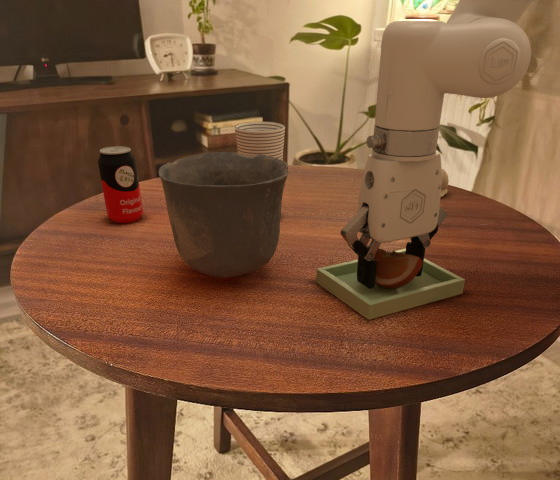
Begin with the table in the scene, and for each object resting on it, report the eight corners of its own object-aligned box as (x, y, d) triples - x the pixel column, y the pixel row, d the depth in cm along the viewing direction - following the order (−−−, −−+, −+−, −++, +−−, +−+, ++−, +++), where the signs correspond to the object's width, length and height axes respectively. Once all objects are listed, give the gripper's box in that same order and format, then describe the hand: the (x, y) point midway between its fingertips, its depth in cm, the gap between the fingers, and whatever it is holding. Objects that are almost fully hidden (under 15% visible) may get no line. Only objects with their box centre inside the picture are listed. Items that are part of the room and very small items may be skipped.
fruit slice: (349, 284, 77) (352, 250, 75) (373, 268, 82) (376, 235, 79) (404, 300, 73) (409, 264, 70) (427, 283, 78) (432, 248, 75)
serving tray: (403, 261, 85) (405, 248, 84) (462, 293, 76) (465, 279, 75) (316, 282, 79) (316, 268, 78) (368, 320, 70) (369, 304, 69)
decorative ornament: (452, 196, 113) (457, 168, 110) (416, 200, 111) (420, 172, 108) (441, 190, 116) (445, 163, 113) (406, 194, 114) (409, 167, 111)
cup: (292, 214, 104) (293, 123, 95) (271, 228, 98) (270, 133, 89) (252, 207, 107) (250, 119, 99) (229, 220, 101) (224, 128, 92)
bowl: (316, 273, 82) (320, 167, 74) (223, 313, 72) (215, 195, 63) (237, 241, 92) (232, 145, 84) (145, 272, 82) (130, 166, 74)
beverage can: (103, 224, 100) (89, 153, 93) (115, 212, 105) (104, 145, 98) (137, 225, 99) (126, 154, 92) (148, 214, 104) (139, 145, 98)
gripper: (363, 156, 61) (352, 303, 71) (481, 140, 68) (456, 276, 78) (326, 143, 66) (320, 281, 76) (439, 129, 73) (421, 257, 83)
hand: (389, 277), depth 77 cm, fingers closed on fruit slice, 7 cm apart
